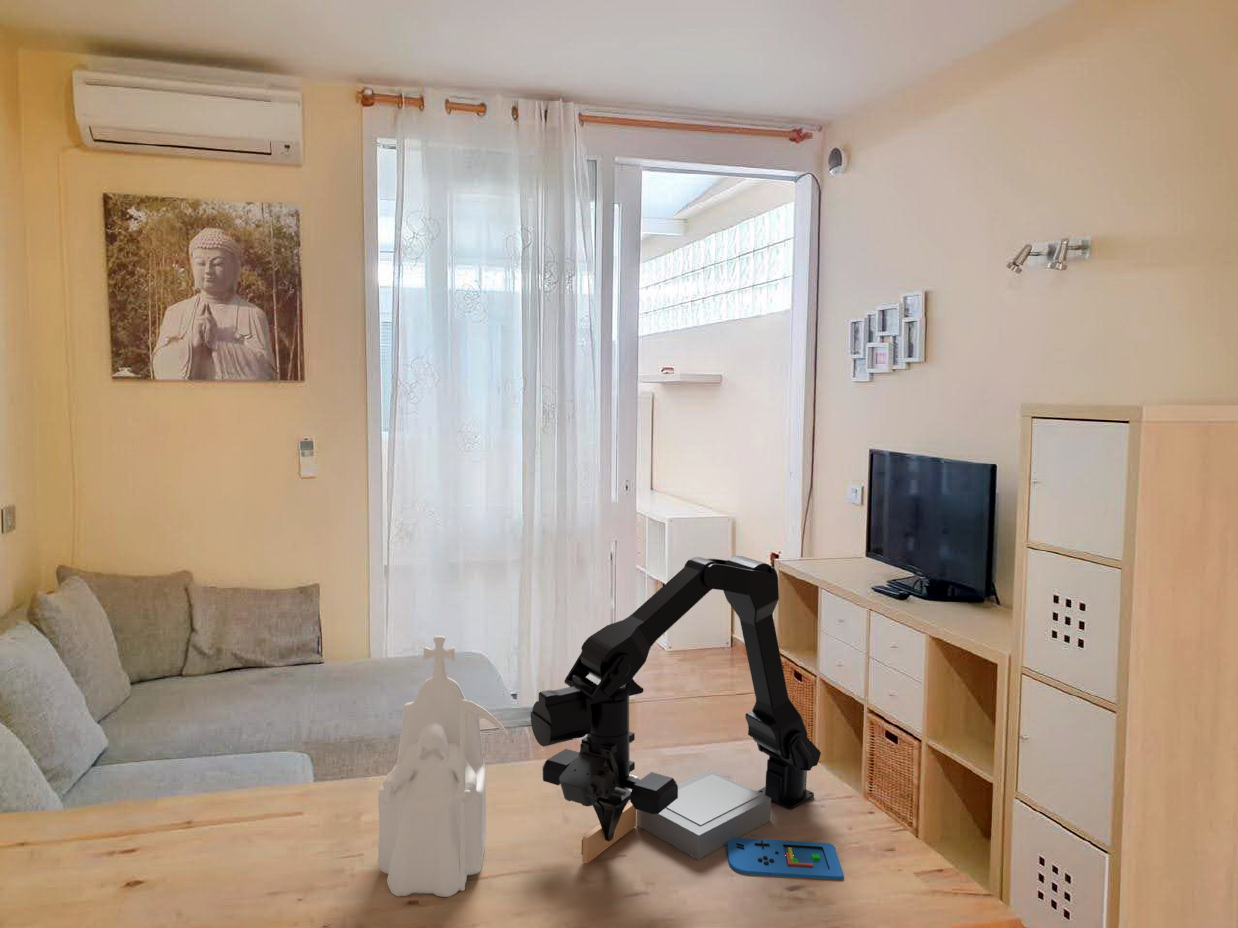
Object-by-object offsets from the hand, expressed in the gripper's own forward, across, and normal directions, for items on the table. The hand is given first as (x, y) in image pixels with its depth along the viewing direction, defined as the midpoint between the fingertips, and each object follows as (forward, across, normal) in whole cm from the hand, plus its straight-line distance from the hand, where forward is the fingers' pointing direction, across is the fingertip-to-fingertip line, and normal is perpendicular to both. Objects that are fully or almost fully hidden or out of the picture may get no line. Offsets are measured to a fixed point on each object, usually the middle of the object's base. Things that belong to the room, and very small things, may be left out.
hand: (608, 839), depth 120 cm
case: (+2, +7, +15) cm, 17 cm away
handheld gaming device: (+4, +20, +13) cm, 24 cm away
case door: (+2, -1, +2) cm, 3 cm away
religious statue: (+2, -16, -15) cm, 22 cm away
